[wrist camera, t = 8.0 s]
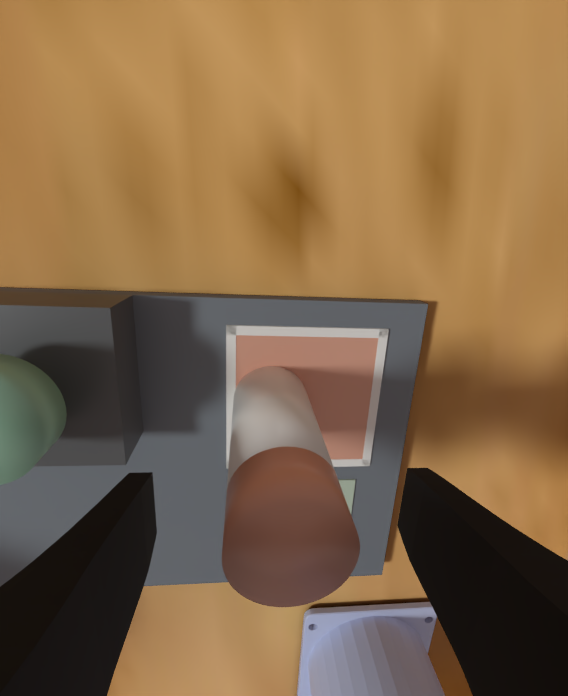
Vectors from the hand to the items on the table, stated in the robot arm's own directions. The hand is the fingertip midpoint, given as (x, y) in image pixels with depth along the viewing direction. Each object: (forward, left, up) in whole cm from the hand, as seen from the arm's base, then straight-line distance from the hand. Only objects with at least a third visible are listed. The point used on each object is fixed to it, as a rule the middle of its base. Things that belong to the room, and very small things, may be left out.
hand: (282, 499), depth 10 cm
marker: (0, 0, -6) cm, 6 cm away
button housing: (+2, +9, -6) cm, 11 cm away
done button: (+2, +9, -2) cm, 9 cm away
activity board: (-3, +5, -7) cm, 9 cm away
